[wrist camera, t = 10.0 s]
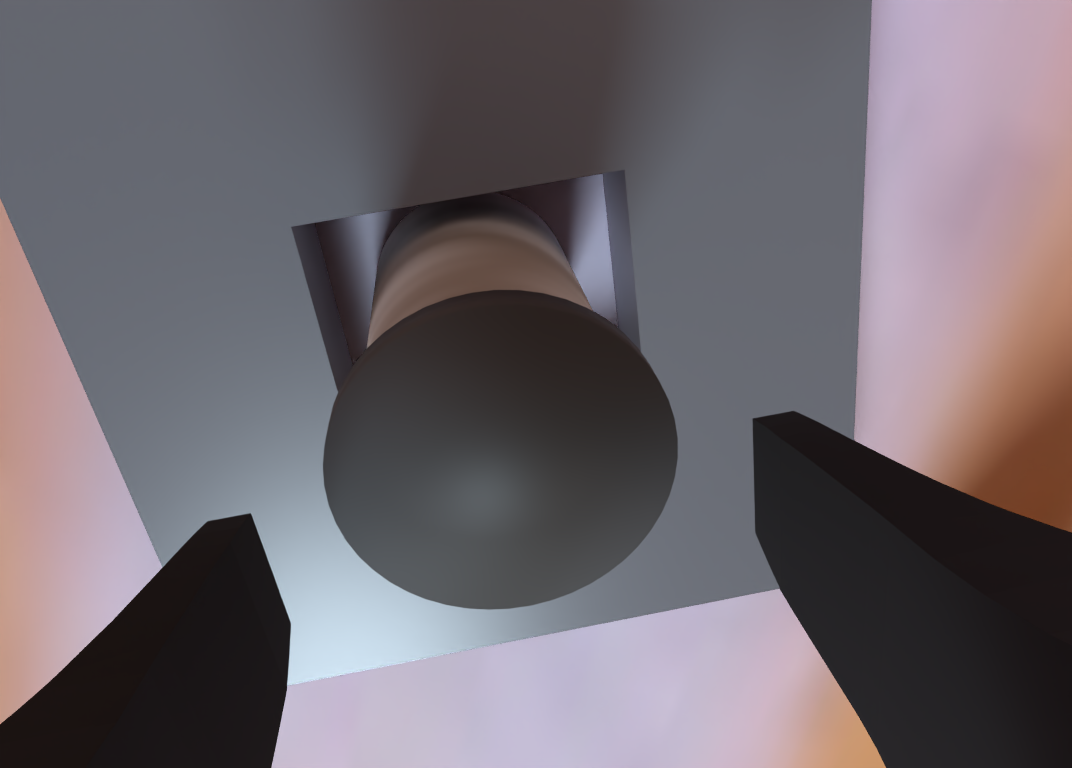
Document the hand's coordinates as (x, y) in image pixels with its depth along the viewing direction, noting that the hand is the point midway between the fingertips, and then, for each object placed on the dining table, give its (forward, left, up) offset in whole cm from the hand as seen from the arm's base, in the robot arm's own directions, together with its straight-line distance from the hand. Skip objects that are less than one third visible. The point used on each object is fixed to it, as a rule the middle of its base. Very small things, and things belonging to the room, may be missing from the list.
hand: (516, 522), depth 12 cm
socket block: (0, 0, -9) cm, 9 cm away
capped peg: (0, 0, -9) cm, 9 cm away
